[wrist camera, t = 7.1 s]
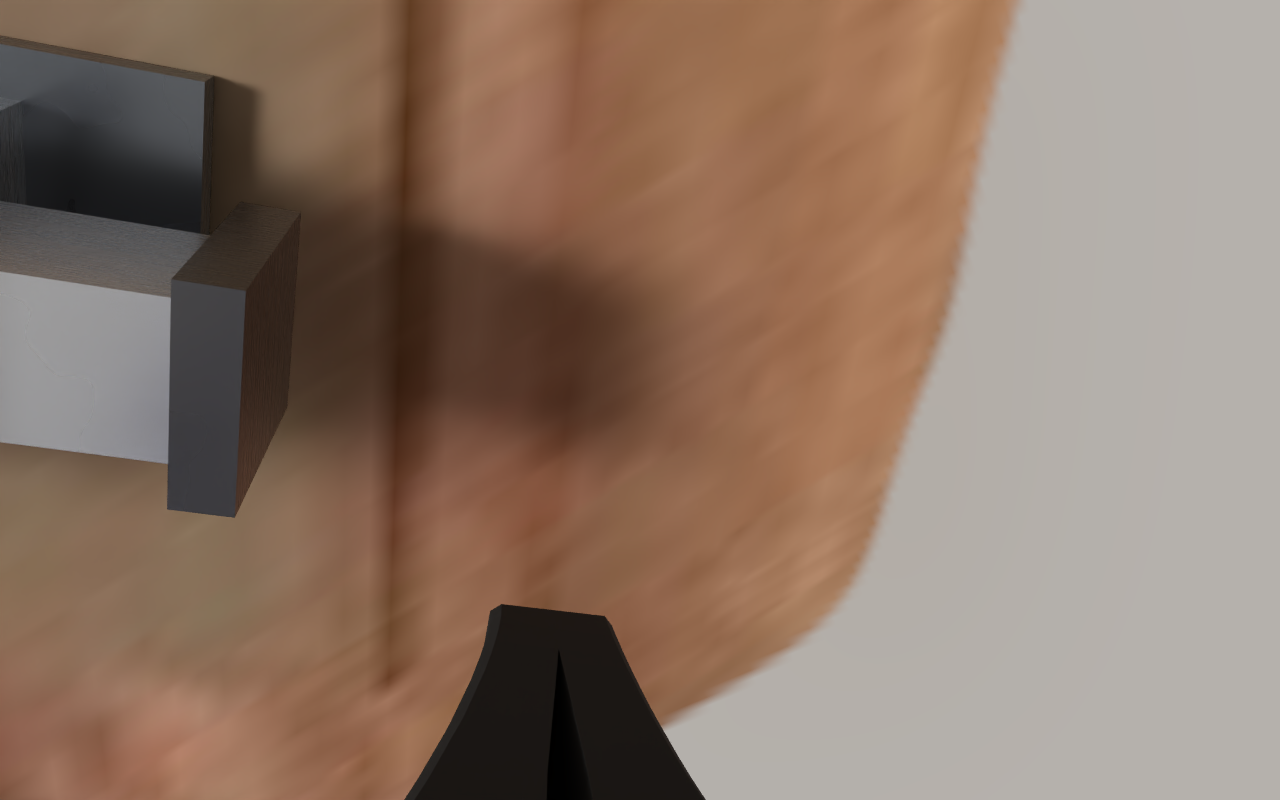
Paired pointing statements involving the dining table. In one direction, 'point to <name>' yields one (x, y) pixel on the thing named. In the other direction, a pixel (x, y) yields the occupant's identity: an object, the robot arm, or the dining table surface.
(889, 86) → the dining table surface
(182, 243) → the shaft
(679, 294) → the dining table surface
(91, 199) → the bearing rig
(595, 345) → the dining table surface
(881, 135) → the dining table surface
